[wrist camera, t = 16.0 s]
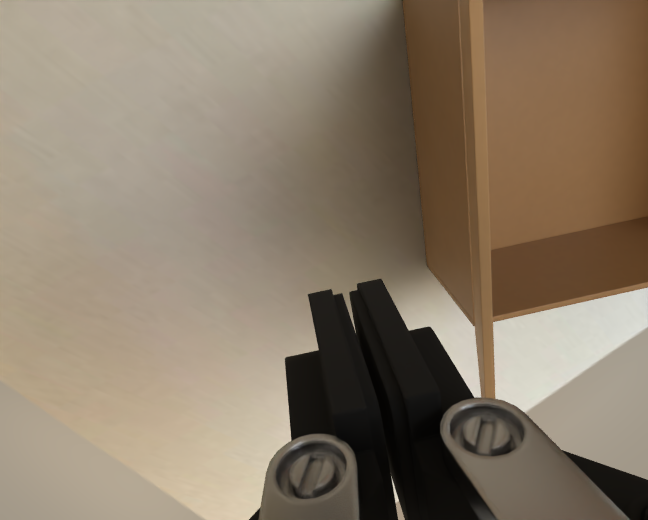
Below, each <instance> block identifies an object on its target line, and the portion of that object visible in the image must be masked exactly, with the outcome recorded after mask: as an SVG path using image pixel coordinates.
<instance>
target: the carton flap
mask: <svg viewBox="0 0 648 520" xmlns="http://www.w3.org/2000/svg"><path fill="white" fill-rule="evenodd" d="M459 9H460V30H461V50H462V71H463V91H464V112H465V132H466V153H467V173H468V194H469V214H470V235H471V255H472V276H473V296H474V317H475V335H476V345H477V356H478V366H479V377H480V387H481V397H482V398H493V399H495V375H494V342H493V310H492V277H491V244H490V211H489V178H488V145H487V112H486V80H485V47H484V14H483V0H459Z"/></svg>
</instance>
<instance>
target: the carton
mask: <svg viewBox="0 0 648 520" xmlns="http://www.w3.org/2000/svg"><path fill="white" fill-rule="evenodd" d="M402 1H403V12H404V22H405V33H406V44H407V55H408V66H409V77H410V88H411V98H412V109H413V120H414V131H415V142H416V153H417V164H418V174H419V185H420V196H421V207H422V218H423V229H424V240H425V250H426V261H427V267H428V268H429V269H430V270H431V272H432V273H433V274H434V276H435V277H436V278H437V279H438V281H439V282H440V283H441V285H442V286H443V287H444V288H445V290H446V291H447V292H448V294H449V295H450V296H451V297H452V299H453V300H454V301H455V303H456V304H457V305H458V306H459V308H460V309H461V310H462V312H463V313H464V314H465V315H466V317H467V318H468V319H469V321H470V322H471V323H472V324H473V326H475V317H474V296H473V276H472V255H471V235H470V214H469V194H468V173H467V153H466V132H465V112H464V91H463V71H462V50H461V30H460V9H459V0H402ZM483 14H484V47H485V80H486V112H487V145H488V178H489V211H490V244H491V277H492V310H493V322H495V321H500V320H504V319H509V318H513V317H518V316H522V315H526V314H531V313H535V312H540V311H544V310H549V309H553V308H558V307H562V306H567V305H571V304H576V303H580V302H585V301H589V300H594V299H598V298H602V297H607V296H611V295H616V294H620V293H625V292H629V291H634V290H638V289H643V288H647V287H648V0H483Z"/></svg>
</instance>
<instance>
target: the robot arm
mask: <svg viewBox="0 0 648 520" xmlns="http://www.w3.org/2000/svg"><path fill="white" fill-rule="evenodd" d="M349 295H350V301H351V307H352V313H353V319H354V324H355V330H356V333H355V330H354V327H353V324H352V321H351V318H350V315H349V312H348V309H347V306H346V303H345V300H344V297H343V294H342V293H341V294H337V295H333V293H332V289H330V290H325V291H320V292H316V293H311V294H308V297H309V302H310V307H311V312H312V317H313V322H314V327H315V332H316V337H317V343H318V348H319V350H318V351H314V352H309V353H304V354H300V355H295V356H290V357H286V358H285V366H286V378H287V391H288V403H289V415H290V427H291V439H292V441H290V442H288V443H287V444H286V445H285V446H283V447H282V448H281V449H280V450H278V451H277V453H276V454H275V455H274V457H273V458H272V459H271V461H270V463H269V466H268V469H267V472H266V477H265V483H264V489H263V496H262V502H261V507H260V508H259V509H258V511H257V512H256V513H255V514H254V515H253V516H252V517H251V518H250V519H249V520H398V517H397V510H396V504H395V498H394V491H393V485H392V479H393V482H394V486H395V489H396V492H397V495H398V499H399V502H400V505H401V508H402V512H403V515H404V518H405V520H648V480H646V479H643V478H641V477H638V476H635V475H632V474H629V473H626V472H623V471H620V470H617V469H615V468H611V467H609V466H606V465H603V464H600V463H597V462H594V461H592V460H589V459H586V458H583V457H580V456H577V455H574V454H571V453H569V452H566V451H563V450H561V449H560V448H559V447H558V446H557V445H556V444H555V443H554V442H553V441H552V440H551V439H550V438H549V437H548V436H547V435H546V434H545V433H544V432H543V431H542V430H541V429H540V428H539V427H538V426H537V425H536V424H535V423H534V422H533V421H532V420H531V419H530V418H529V417H528V416H527V415H526V414H525V413H524V412H523V411H521V410H520V409H519V408H518V407H516V406H514V405H512V404H510V403H508V402H505V401H503V400H498V399H493V398H474V396H473V395H472V393H471V391H470V390H469V388H468V387H467V385H466V383H465V382H464V380H463V378H462V377H461V375H460V373H459V372H458V370H457V369H456V367H455V365H454V364H453V362H452V360H451V359H450V357H449V355H448V354H447V352H446V351H445V349H444V347H443V346H442V344H441V342H440V341H439V339H438V338H437V336H436V334H435V333H434V331H433V330H432V328H431V327H424V328H420V329H415V330H411V331H408V329H407V327H406V325H405V323H404V321H403V319H402V317H401V315H400V313H399V311H398V310H397V308H396V306H395V304H394V302H393V300H392V298H391V296H390V294H389V292H388V291H387V289H386V287H385V285H384V283H383V281H382V279H377V280H372V281H368V282H363V283H358V284H357V290H356V291H351V292H349ZM391 476H392V479H391Z"/></svg>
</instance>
